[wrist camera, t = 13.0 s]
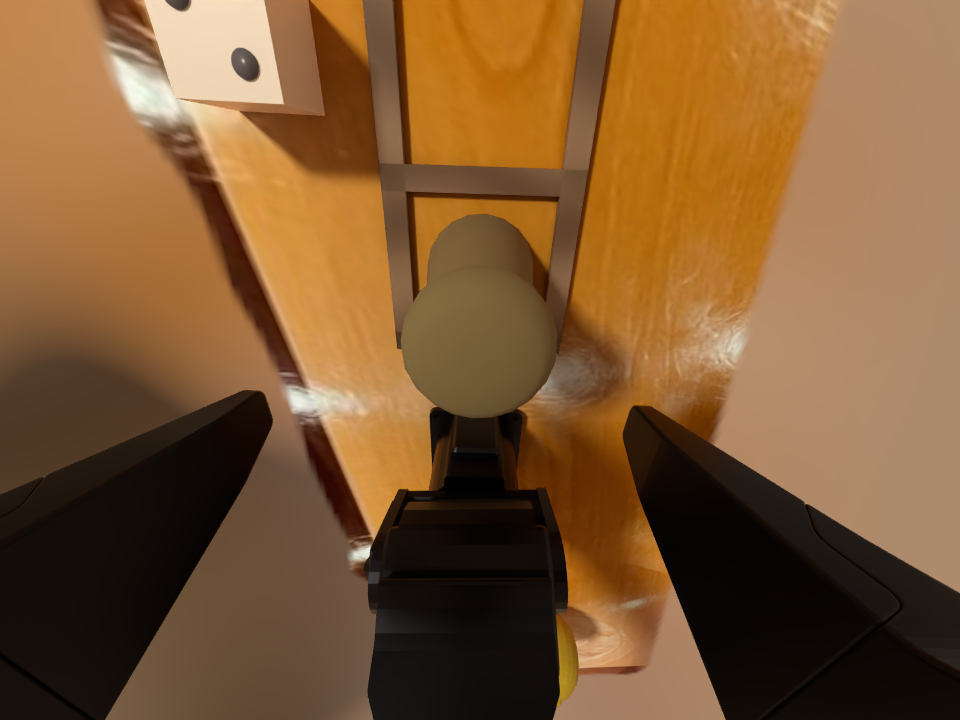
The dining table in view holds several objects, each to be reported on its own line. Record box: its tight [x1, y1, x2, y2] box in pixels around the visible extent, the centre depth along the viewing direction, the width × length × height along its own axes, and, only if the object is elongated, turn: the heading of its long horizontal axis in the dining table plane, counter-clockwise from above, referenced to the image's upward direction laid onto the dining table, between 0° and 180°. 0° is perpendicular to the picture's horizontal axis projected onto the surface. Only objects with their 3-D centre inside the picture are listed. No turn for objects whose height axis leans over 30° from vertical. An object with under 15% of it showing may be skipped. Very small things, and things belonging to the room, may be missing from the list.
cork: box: [401, 214, 557, 418], centre depth 15 cm, size 6×6×11 cm
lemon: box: [556, 614, 579, 707], centre depth 35 cm, size 6×6×8 cm
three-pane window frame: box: [363, 0, 616, 354], centre depth 15 cm, size 28×10×1 cm, turn 178°
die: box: [145, 0, 325, 116], centre depth 14 cm, size 4×4×4 cm
